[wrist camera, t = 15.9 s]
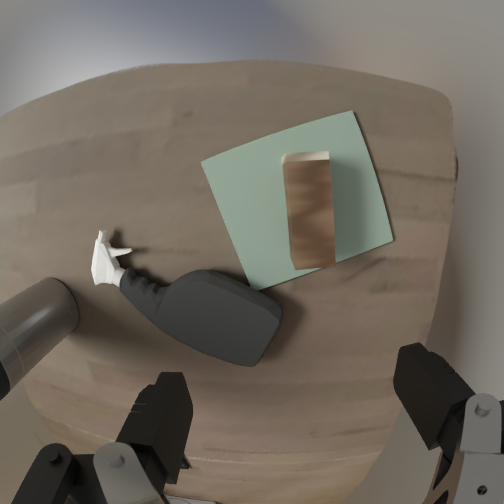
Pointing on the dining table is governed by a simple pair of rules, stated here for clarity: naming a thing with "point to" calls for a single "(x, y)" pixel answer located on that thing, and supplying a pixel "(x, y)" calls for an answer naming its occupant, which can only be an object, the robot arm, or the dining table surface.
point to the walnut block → (309, 209)
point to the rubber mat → (274, 202)
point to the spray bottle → (197, 307)
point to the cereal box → (187, 500)
